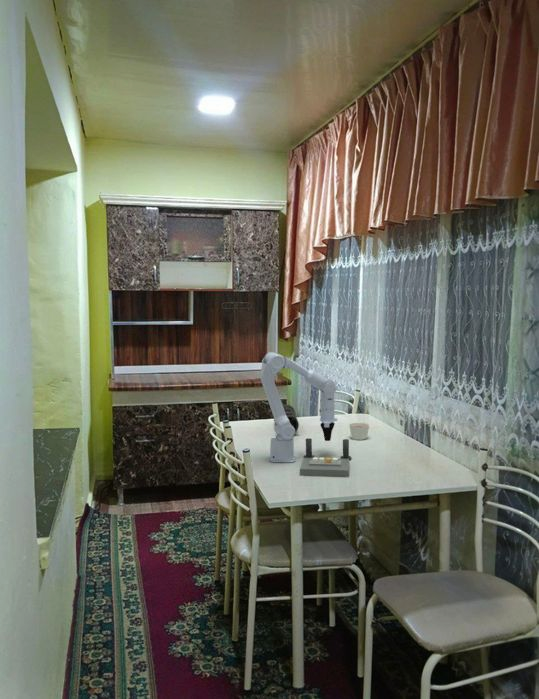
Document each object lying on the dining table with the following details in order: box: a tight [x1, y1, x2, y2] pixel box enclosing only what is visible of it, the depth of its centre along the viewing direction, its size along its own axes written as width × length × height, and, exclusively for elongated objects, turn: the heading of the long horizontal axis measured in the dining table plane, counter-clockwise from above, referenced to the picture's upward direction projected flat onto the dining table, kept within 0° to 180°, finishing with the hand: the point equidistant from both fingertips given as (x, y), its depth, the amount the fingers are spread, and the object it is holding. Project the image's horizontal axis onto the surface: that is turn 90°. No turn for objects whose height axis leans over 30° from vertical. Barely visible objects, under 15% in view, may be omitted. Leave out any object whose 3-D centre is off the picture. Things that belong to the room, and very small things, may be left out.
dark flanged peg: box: [339, 438, 352, 462], centre depth 234 cm, size 4×4×8 cm
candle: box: [348, 422, 370, 441], centre depth 266 cm, size 9×9×6 cm
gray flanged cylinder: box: [303, 438, 315, 458], centre depth 237 cm, size 4×4×8 cm
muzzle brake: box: [282, 403, 300, 433], centre depth 285 cm, size 10×28×10 cm, turn 2°
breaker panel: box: [299, 456, 350, 478], centre depth 221 cm, size 18×14×5 cm
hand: (327, 440), depth 239 cm, fingers closed
